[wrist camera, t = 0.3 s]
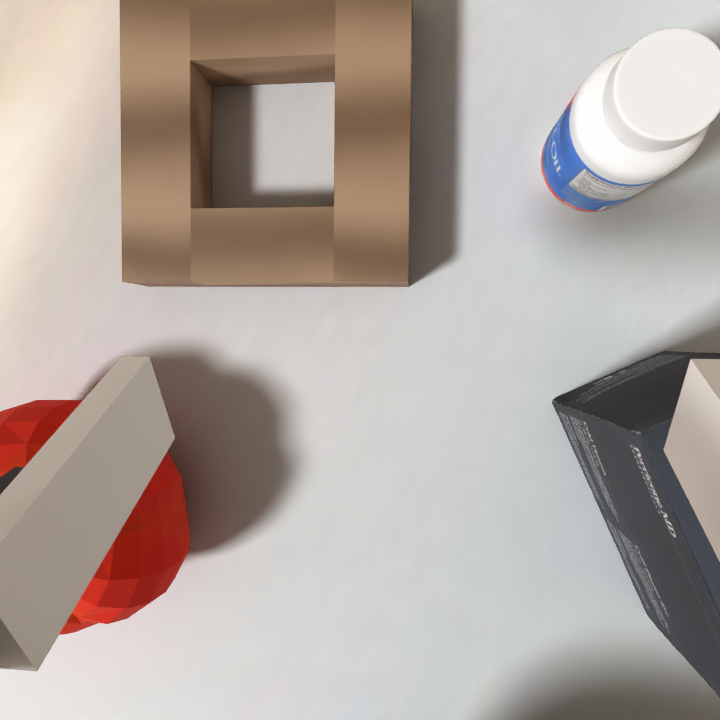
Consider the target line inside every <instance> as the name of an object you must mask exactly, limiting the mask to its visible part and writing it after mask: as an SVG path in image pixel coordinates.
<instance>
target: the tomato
mask: <svg viewBox="0 0 720 720" xmlns="http://www.w3.org/2000/svg"><path fill="white" fill-rule="evenodd" d="M82 401H83V400H36V401H33V402H29V403H26V404H23V405H20V406H17V407H13V408H10V409H7V410H4V411H1V412H0V477H1V476H3V475H4V474H6V473H7V472H8V471H10V470H11V469H13V468H14V467H25V466H26V465H27V464H28V463H29V461H30V460H31V459H32V458H33V457H34V456H35V455H36V454H37V452H38V451H39V450H40V449H41V448H42V447H43V446H44V444H45V443H46V442H47V441H48V440H49V439H50V438H51V436H52V435H53V434H54V433H55V432H56V431H57V430H58V428H59V427H60V426H61V425H62V424H63V423H64V422H65V420H66V419H67V418H68V417H69V416H70V415H71V414H72V412H73V411H74V410H75V409H76V408H77V407H78V406H79V404H80V403H81V402H82ZM189 549H190V533H189V524H188V515H187V507H186V501H185V494H184V488H183V482H182V476H181V474H180V472H179V471H178V469H177V467H176V465H175V463H174V461H173V460H172V458H171V456H170V454H169V452H168V451H167V453H166V454H165V456H164V458H163V459H162V461H161V463H160V465H159V466H158V468H157V470H156V471H155V473H154V475H153V476H152V478H151V480H150V481H149V483H148V485H147V486H146V488H145V490H144V492H143V493H142V495H141V497H140V498H139V500H138V502H137V503H136V505H135V507H134V508H133V510H132V512H131V514H130V515H129V517H128V519H127V520H126V522H125V524H124V525H123V527H122V529H121V530H120V532H119V534H118V535H117V537H116V539H115V541H114V542H113V544H112V546H111V547H110V549H109V551H108V552H107V554H106V556H105V557H104V559H103V561H102V563H101V564H100V566H99V568H98V569H97V571H96V573H95V574H94V576H93V578H92V579H91V581H90V583H89V584H88V586H87V588H86V590H85V591H84V593H83V595H82V596H81V598H80V600H79V601H78V603H77V605H76V606H75V608H74V610H73V612H72V613H71V615H70V617H69V618H68V620H67V622H66V623H65V625H64V627H63V628H62V630H61V632H60V634H59V635H61V634H68V633H73V632H77V631H79V630H82V629H84V628H87V627H89V626H92V625H95V624H97V623H105V624H109V623H113V622H116V621H120V620H123V619H127V618H129V617H130V616H131V615H133V614H134V613H136V612H137V611H139V610H140V609H142V608H143V607H144V606H146V605H147V604H149V603H150V602H152V601H153V600H155V599H156V598H157V597H159V596H160V595H162V594H163V593H165V592H166V591H167V589H168V588H169V586H170V585H171V583H172V582H173V580H174V579H175V577H176V575H177V573H178V571H179V569H180V567H181V565H182V563H183V561H184V559H185V557H186V555H187V553H188V551H189Z"/></svg>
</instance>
